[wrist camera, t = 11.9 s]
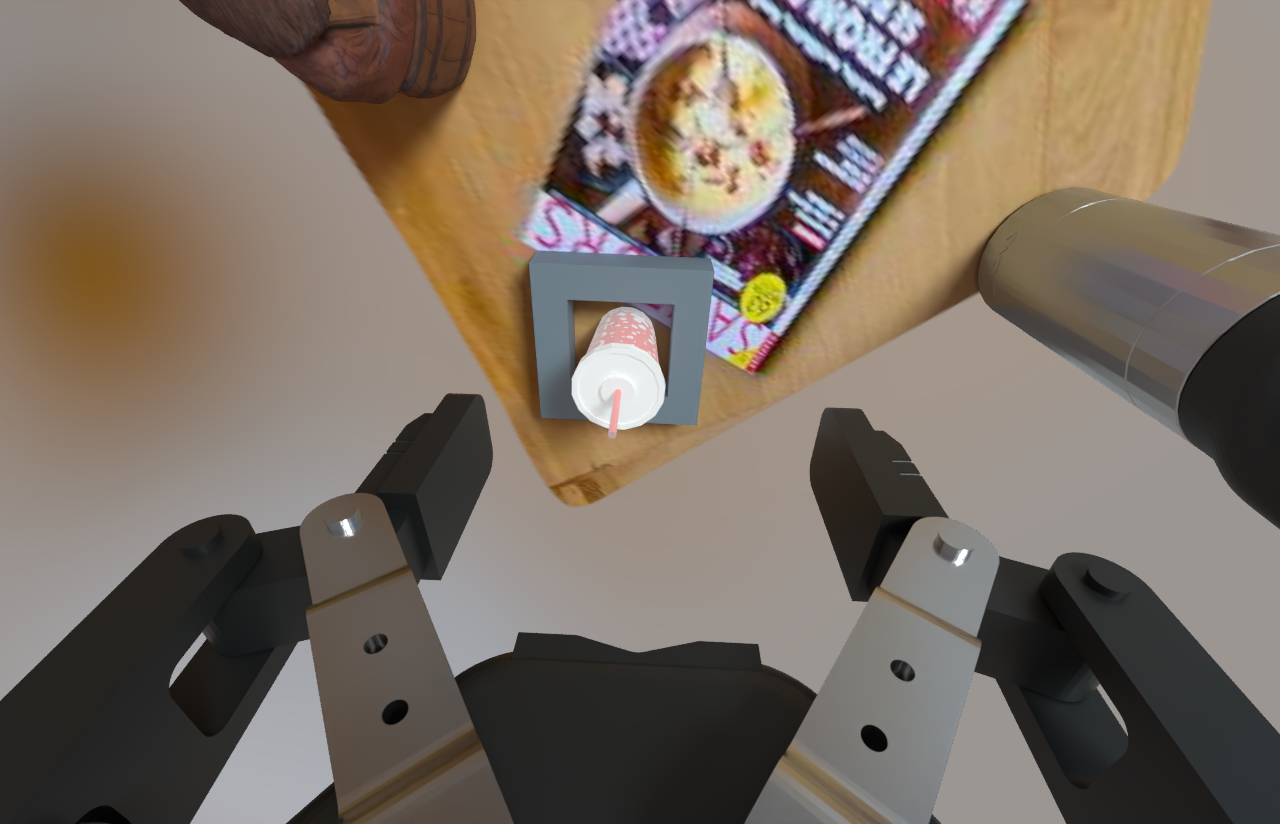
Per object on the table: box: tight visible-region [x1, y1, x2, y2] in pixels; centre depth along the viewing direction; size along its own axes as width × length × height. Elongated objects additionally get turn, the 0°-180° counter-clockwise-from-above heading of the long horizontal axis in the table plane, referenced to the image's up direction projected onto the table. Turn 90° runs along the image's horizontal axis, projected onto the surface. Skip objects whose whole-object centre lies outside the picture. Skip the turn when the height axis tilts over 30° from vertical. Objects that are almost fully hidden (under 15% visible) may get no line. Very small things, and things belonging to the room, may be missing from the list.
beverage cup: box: [572, 307, 665, 439], centre depth 35 cm, size 6×6×14 cm
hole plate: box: [529, 251, 714, 425], centre depth 40 cm, size 13×13×3 cm
